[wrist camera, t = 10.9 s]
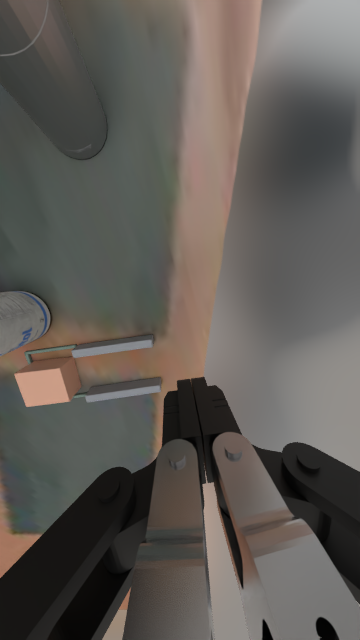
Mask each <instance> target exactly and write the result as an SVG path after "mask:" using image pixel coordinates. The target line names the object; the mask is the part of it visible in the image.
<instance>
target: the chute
mask: <svg viewBox="0 0 360 640" xmlns="http://www.w3.org/2000/svg"><path fill="white" fill-rule="evenodd" d="M153 344H154V338H153V334H152V335H145V336H138V337H130V338H123V339H116V340H109V341H102V342H94V343H87V344H80V345H78V346H77V347H75V348H74V349H73V350H72V354H73V358H77V357H84V356H91V355H98V354H106V353H113V352H120V351H127V350H134V349H141V348H148V347H153ZM155 392H161V378H160V377H158V378H151V379H144V380H137V381H130V382H123V383H116V384H109V385H102V386H95V387H91V388H90V390H89V391H88V393H87V394H86V396H85V398H86V401H87V402H94V401H101V400H107V399H114V398H121V397H128V396H135V395H142V394H148V393H155Z"/></svg>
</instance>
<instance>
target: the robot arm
mask: <svg viewBox="0 0 360 640" xmlns="http://www.w3.org/2000/svg"><path fill="white" fill-rule="evenodd" d="M0 83H1V85H2V86H3V87H4V88H5V89H6V90H7V91H8V92H9V94H10V95H11V96H12V97H13V98H14V99H15V100H16V102H17V103H18V104H19V105H20V106H21V107H22V108H23V109H24V111H25V112H26V113H27V114H28V115H29V116H30V117H31V119H32V120H33V121H34V122H35V123H36V124H37V125H38V126H39V128H40V129H41V130H42V131H43V132H44V133H45V134H46V136H47V137H48V138H49V139H50V140H51V141H52V142H53V143H54V144H55V146H56V147H57V148H58V149H59V150H60V151H61V152H63V153H64V154H65V155H67V156H69V157H71V158H75V159H87V158H91V157H92V156H94V155H96V154H97V153H98V152H99V151H100V150H101V148H102V147H103V145H104V142H105V140H106V135H107V122H106V117H105V114H104V111H103V108H102V106H101V103H100V101H99V98H98V96H97V93H96V91H95V88H94V86H93V83H92V81H91V78H90V76H89V73H88V71H87V68H86V66H85V63H84V61H83V58H82V56H81V53H80V51H79V48H78V46H77V43H76V41H75V38H74V36H73V33H72V31H71V28H70V26H69V23H68V21H67V18H66V16H65V14H64V11H63V9H62V6H61V4H60V1H59V0H0ZM191 384H192V386H191ZM177 388H178V390H177V391H169V392H168V393H167V395H166V396H165V398H164V413H163V414H164V415H163V437H162V448H161V449H160V451H159V453H158V456H157V458H156V459H155V460H154V461H153V462H152V463H151V464H149V465H148V466H146V467H145V468H143V469H141V470H139V471H137V472H135V473H133V474H131V472H130V471H129V470H128V469H126V468H124V467H115V468H111V469H109V470H107V471H105V472H104V473H102V474H101V475H100V476H99V477H98V478H97V479H96V480H95V481H94V482H93V483H92V484H91V485H90V486H89V487H88V488H87V489H86V490H85V491H84V492H83V493H82V494H81V495H80V496H79V497H78V499H77V500H76V501H75V502H74V503H73V504H72V505H71V506H70V507H69V508H68V509H67V510H66V511H65V512H64V513H63V514H62V515H61V516H60V517H59V518H58V519H57V520H56V521H55V522H54V523H53V524H52V525H51V526H50V528H49V529H48V530H47V531H46V532H45V533H44V534H43V535H42V536H41V537H40V538H39V539H38V540H37V541H36V542H35V543H34V544H33V545H32V546H31V547H30V548H29V549H28V550H27V551H26V552H25V553H24V554H23V555H22V557H21V558H20V559H19V560H18V561H17V562H16V563H15V564H14V565H13V566H12V567H11V568H10V569H9V570H8V571H7V572H6V573H5V574H4V575H3V576H2V577H1V578H0V640H102V638H103V637H104V635H105V633H106V631H107V629H108V628H109V626H110V624H111V622H112V620H113V618H114V617H115V615H116V613H117V611H118V609H119V607H120V606H121V604H122V602H123V600H124V598H125V596H126V595H127V593H128V591H129V589H130V587H131V591H130V597H129V603H128V609H127V616H126V621H125V627H124V634H123V639H122V640H215V638H214V628H213V616H212V606H211V595H210V584H209V571H208V559H207V548H206V536H205V524H204V513H203V510H204V495H203V487H202V484H205V483H206V478H205V471H206V476H207V481H208V483H211V482H214V486H215V491H216V496H217V507H218V511H219V515H220V518H221V522H222V526H223V530H224V534H225V537H226V541H227V545H228V549H229V552H230V556H231V560H232V564H233V567H234V571H235V575H236V578H237V582H238V586H239V590H240V594H241V598H242V602H243V608H244V613H245V619H246V624H247V628H248V633H249V637H250V640H360V607H359V605H358V603H359V604H360V472H359V471H357V470H355V469H353V468H351V467H349V466H348V465H346V464H344V463H342V462H340V461H338V460H337V459H334V458H333V457H331V456H329V455H327V454H325V453H323V452H321V451H320V450H318V449H316V448H314V447H312V446H310V445H307V444H304V443H298V442H294V443H290V444H287V445H286V446H285V447H284V448H283V451H282V453H281V452H276V451H270V450H265V449H261V448H258V447H256V446H254V445H252V444H251V443H250V442H249V440H248V439H247V438H245V437H244V436H243V435H242V433H241V432H240V429H239V427H238V425H237V423H236V420H235V418H234V416H233V414H232V412H231V409H230V407H229V406H228V403H227V400H226V398H225V396H224V394H223V392H222V390H221V389H219V388H218V387H217V386H215V385H214V386H207V383H206V380H205V378H204V377H200V378H192V379H191V381H190V379H185V380H178V381H177ZM204 465H205V467H204ZM356 601H357V602H358V603H357V602H356ZM320 637H321V638H320Z"/></svg>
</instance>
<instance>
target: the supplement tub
mask: <svg viewBox="0 0 360 640" xmlns="http://www.w3.org/2000/svg"><path fill="white" fill-rule="evenodd" d="M49 325H50V313H49V310H48V308H47V306H46V305H45V303H44V302H43V301H42V300H41V299H40V298H38V297H37V296H35V295H33V294H31V293H28V292H24V291H10V292H0V356H2V355H4V354H6V353H8V352H11V351H13V350H15V349H17V348H19V347H21V346H23V345H25V344H28V343H30V342H32V341H34V340H36V339H38V338H40V337H41V336H43V335H44V334H45V333H46V332H47V330H48V328H49Z"/></svg>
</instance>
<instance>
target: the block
mask: <svg viewBox="0 0 360 640" xmlns="http://www.w3.org/2000/svg"><path fill="white" fill-rule="evenodd" d="M14 375H15V378H16V380H17V383H18V386H19V388H20V391H21V393H22V396H23V399H24V401H25V404H26V407H30V406H38V405H46V404H54V403H61V402H69V401H70V400H71V399H72V398H73V396H74V395H75V394H76V393H77V391H78V390H79V389H80V388H81V382H80V379H79V375H78V372H77V368H76V364H75V361H74V358H73V357H65V358H57V359H49V360H40V361H33V362H32V363H30V364H29V365H27V366H26V367H24V368H23V369H21V370H19V371H18V372H16V373H15V374H14Z"/></svg>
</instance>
